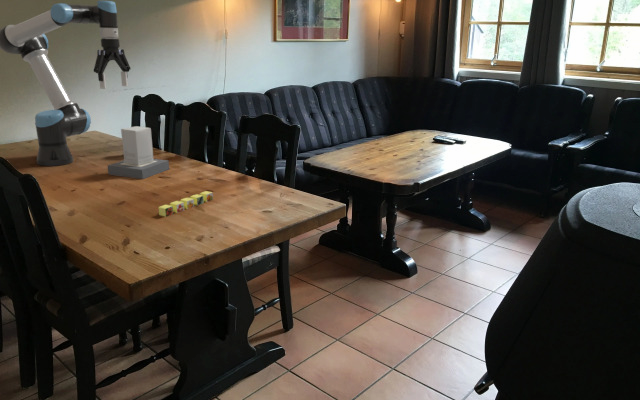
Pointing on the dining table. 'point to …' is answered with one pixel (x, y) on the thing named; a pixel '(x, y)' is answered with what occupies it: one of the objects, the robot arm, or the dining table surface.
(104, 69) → the robot arm
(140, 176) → the plinth
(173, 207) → the row of toy blocks
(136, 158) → the supplement box
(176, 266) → the dining table surface
